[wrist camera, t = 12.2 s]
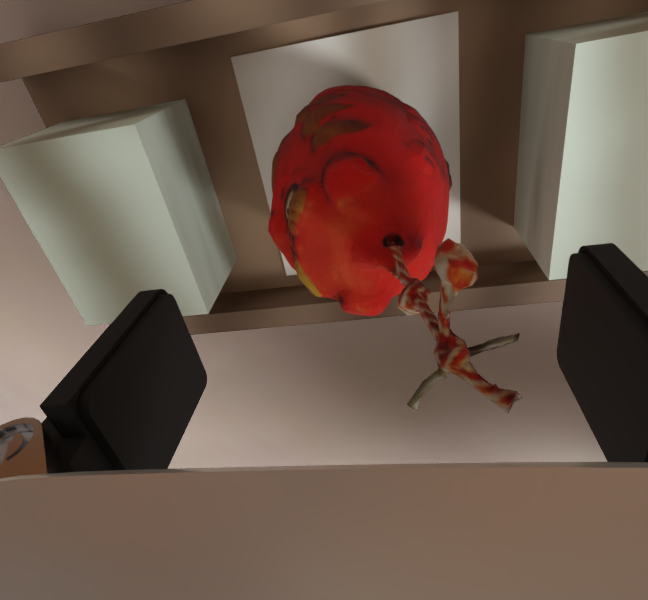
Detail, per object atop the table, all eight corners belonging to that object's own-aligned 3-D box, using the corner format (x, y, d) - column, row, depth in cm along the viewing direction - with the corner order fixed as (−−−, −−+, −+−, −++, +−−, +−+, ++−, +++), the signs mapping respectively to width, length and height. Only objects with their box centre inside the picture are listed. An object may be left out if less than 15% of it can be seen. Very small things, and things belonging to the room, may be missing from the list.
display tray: (734, -115, 15) (934, -183, 10) (644, 253, 23) (729, 330, 17) (29, 44, 20) (-98, 58, 15) (151, 305, 28) (98, 378, 22)
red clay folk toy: (265, 95, 19) (55, 274, 6) (434, 55, 17) (599, 182, 5) (308, 253, 23) (231, 554, 10) (448, 231, 21) (557, 546, 9)
